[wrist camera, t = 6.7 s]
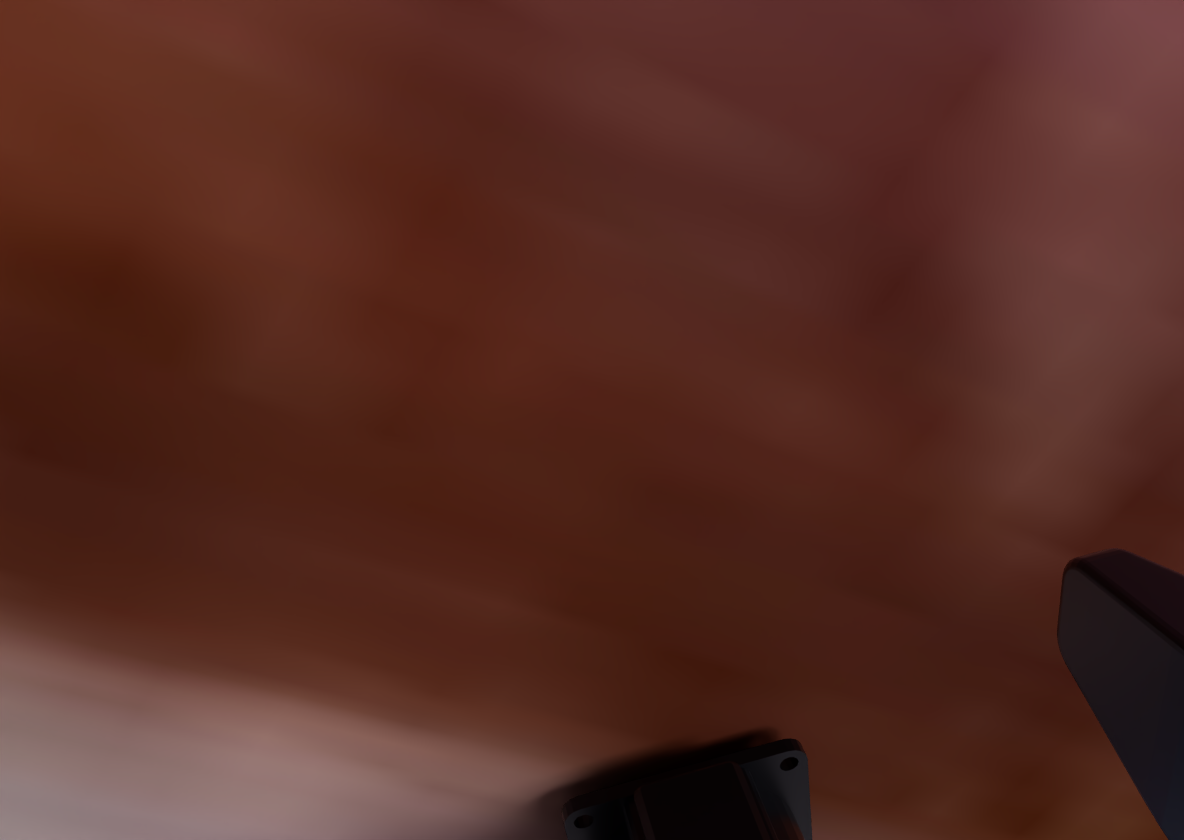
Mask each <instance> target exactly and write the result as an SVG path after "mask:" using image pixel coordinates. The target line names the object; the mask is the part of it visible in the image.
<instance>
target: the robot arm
mask: <svg viewBox="0 0 1184 840" xmlns="http://www.w3.org/2000/svg"><path fill="white" fill-rule="evenodd" d="M1057 638H1058V644H1059V648H1060V652H1061V654H1062V657H1063V659H1064V661H1065V663H1066V665H1067V667H1068V669H1069V670H1070V672H1071V674H1072V676H1073V677H1074V679H1075V681H1076V682H1077V684H1078V686H1079V688H1080V689H1081V691H1082V693H1083V695H1084V696H1085V698H1086V700H1087V702H1088V703H1089V705H1090V707H1091V709H1092V710H1093V712H1094V714H1095V716H1096V717H1097V719H1098V721H1099V723H1100V724H1101V726H1102V728H1103V730H1104V731H1105V733H1106V735H1107V737H1108V738H1109V740H1110V742H1111V744H1112V745H1113V747H1114V749H1115V751H1116V752H1117V754H1118V756H1119V758H1120V759H1121V761H1122V763H1123V765H1124V766H1125V768H1126V770H1127V772H1128V773H1129V775H1130V777H1131V779H1132V780H1133V782H1134V784H1135V786H1136V787H1137V789H1138V791H1139V793H1140V794H1141V796H1142V798H1143V800H1144V801H1145V803H1146V805H1147V806H1148V808H1149V810H1150V811H1151V813H1152V814H1153V816H1154V818H1155V819H1156V821H1157V823H1158V824H1159V826H1160V828H1161V829H1162V831H1163V832H1164V833H1165V835H1166V836H1167V838H1168V839H1169V840H1184V575H1183V574H1180V573H1178V572H1176V571H1173V570H1171V569H1169V568H1166V567H1164V566H1162V565H1159V564H1157V563H1155V562H1152V561H1150V560H1148V559H1145V558H1143V557H1141V556H1138V555H1136V554H1134V553H1131V552H1129V551H1126V550H1123V549H1118V548H1111V549H1106V550H1102V551H1099V552H1095V553H1091V554H1088V555H1084V556H1080V557H1077V558H1074V559H1072V560H1070V561H1069V562H1068V564H1067V565H1066V567H1065V568H1064V572H1063V578H1062V587H1061V597H1060V606H1059V616H1058V626H1057ZM562 818H563V822H564V827H565V830H566V834H567V838H568V840H812V828H811V810H810V793H809V776H808V759H807V756H806V754H805V752H804V750H803V748H802V745H801V743H800V742H799V741H797V740H796V739H783V740H779V741H775V742H772V743H768V744H765V745H761V746H757V747H754V748H750V749H747V750H743V751H739V752H736V753H732V754H729V755H725V756H721V757H718V758H714V759H711V760H707V761H703V762H700V763H696V764H693V765H689V766H685V767H682V768H678V769H675V770H671V771H667V772H664V773H660V774H657V775H653V776H649V777H646V778H642V779H639V780H635V781H631V782H628V783H624V784H621V785H617V786H613V787H610V788H606V789H603V790H599V791H595V792H592V793H588V794H585V795H581V796H577V797H575V798H573V799H570V800H569V801H568V802H567V803H565V805H564V806H563V808H562Z"/></svg>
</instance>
